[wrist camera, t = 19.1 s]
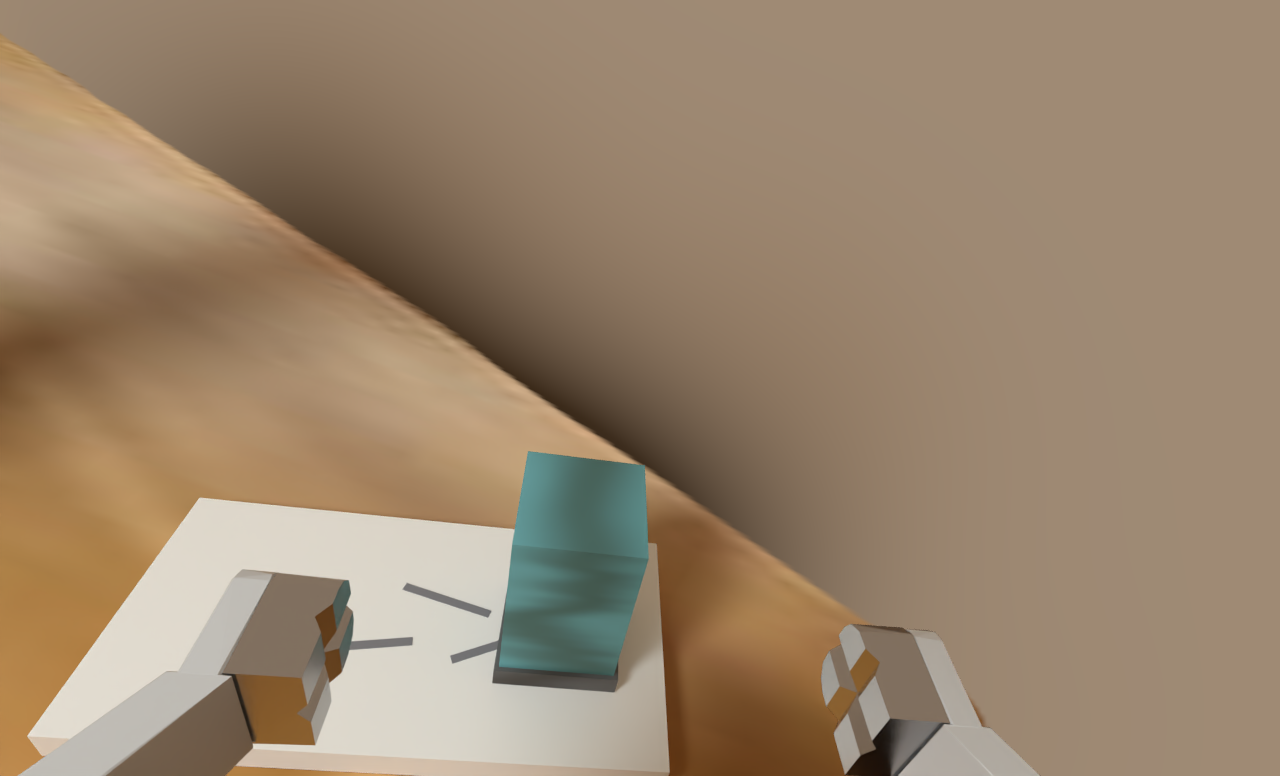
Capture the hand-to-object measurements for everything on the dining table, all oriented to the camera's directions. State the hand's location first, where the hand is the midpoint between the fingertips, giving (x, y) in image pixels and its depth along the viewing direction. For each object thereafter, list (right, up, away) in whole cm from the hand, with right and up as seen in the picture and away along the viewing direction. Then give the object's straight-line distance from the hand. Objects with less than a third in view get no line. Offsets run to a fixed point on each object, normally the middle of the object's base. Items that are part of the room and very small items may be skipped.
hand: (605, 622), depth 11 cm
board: (-10, -8, +20) cm, 24 cm away
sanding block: (-3, -8, +20) cm, 22 cm away
